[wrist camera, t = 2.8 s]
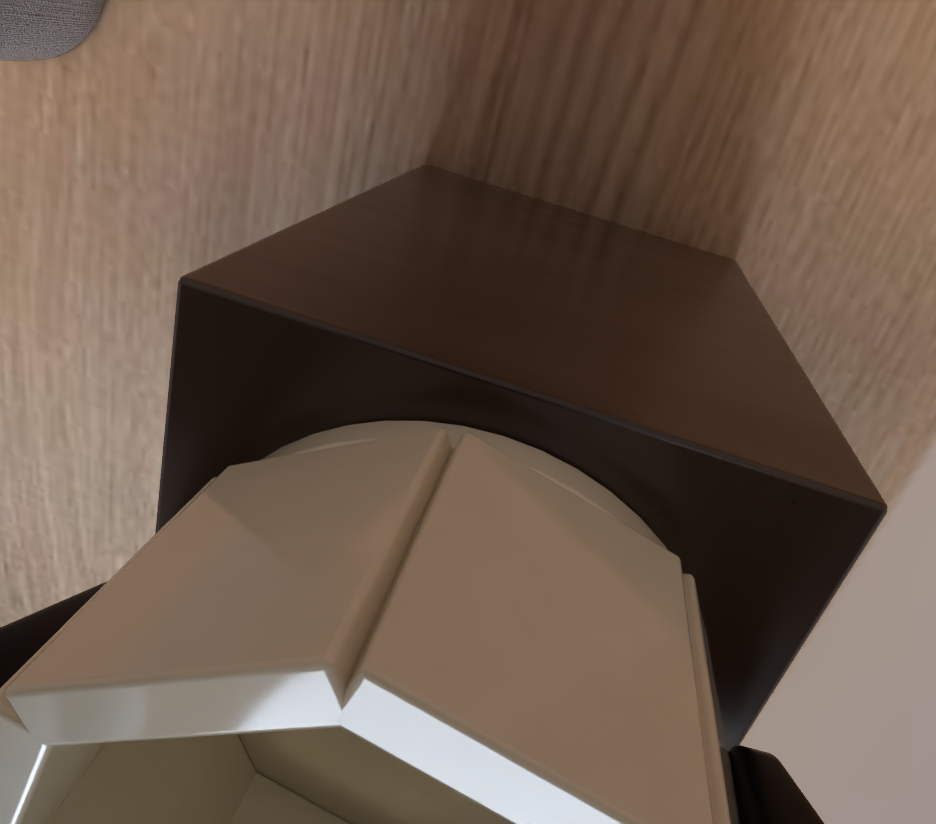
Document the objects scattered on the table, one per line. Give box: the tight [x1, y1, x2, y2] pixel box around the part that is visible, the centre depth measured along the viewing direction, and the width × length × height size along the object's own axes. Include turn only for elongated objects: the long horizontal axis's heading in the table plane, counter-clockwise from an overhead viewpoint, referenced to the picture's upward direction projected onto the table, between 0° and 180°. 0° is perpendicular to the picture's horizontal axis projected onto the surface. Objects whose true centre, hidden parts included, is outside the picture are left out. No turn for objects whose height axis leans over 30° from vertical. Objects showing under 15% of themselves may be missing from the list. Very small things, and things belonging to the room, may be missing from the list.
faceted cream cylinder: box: [0, 421, 740, 824], centre depth 7 cm, size 6×6×4 cm
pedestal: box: [156, 165, 887, 751], centre depth 13 cm, size 7×7×10 cm
